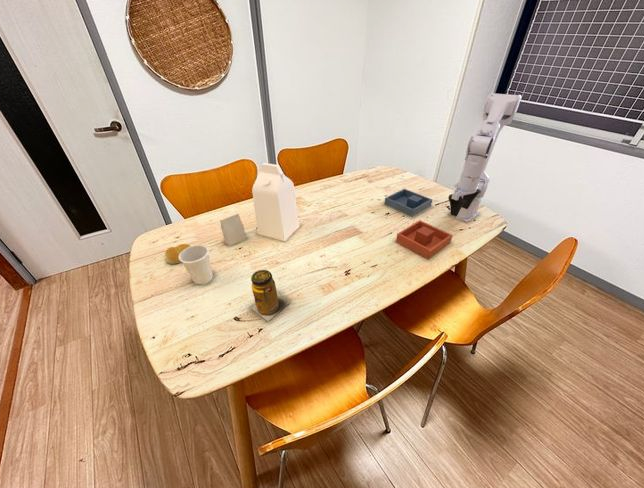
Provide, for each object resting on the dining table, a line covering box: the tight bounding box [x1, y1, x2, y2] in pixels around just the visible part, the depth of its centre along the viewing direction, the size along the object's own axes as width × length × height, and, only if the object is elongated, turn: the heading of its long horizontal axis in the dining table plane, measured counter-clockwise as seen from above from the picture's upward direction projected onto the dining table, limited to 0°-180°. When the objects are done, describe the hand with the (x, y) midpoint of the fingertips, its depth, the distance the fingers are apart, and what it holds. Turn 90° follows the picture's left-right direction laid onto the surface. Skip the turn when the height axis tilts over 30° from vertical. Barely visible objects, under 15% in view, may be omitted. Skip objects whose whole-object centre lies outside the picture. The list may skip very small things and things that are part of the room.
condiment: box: [250, 269, 291, 322], centre depth 74 cm, size 7×8×12 cm
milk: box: [251, 162, 301, 242], centre depth 100 cm, size 12×12×26 cm
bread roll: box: [164, 243, 191, 264], centre depth 95 cm, size 8×9×4 cm
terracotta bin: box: [395, 219, 454, 260], centre depth 99 cm, size 14×14×4 cm
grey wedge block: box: [220, 213, 247, 247], centre depth 100 cm, size 4×7×10 cm, turn 131°
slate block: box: [406, 195, 423, 209], centre depth 117 cm, size 4×4×4 cm
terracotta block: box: [414, 226, 434, 246], centre depth 98 cm, size 4×4×4 cm
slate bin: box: [383, 188, 433, 218], centre depth 120 cm, size 14×15×4 cm
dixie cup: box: [179, 244, 214, 285], centre depth 84 cm, size 8×8×10 cm
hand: (459, 211), depth 98 cm, fingers open, 7 cm apart
